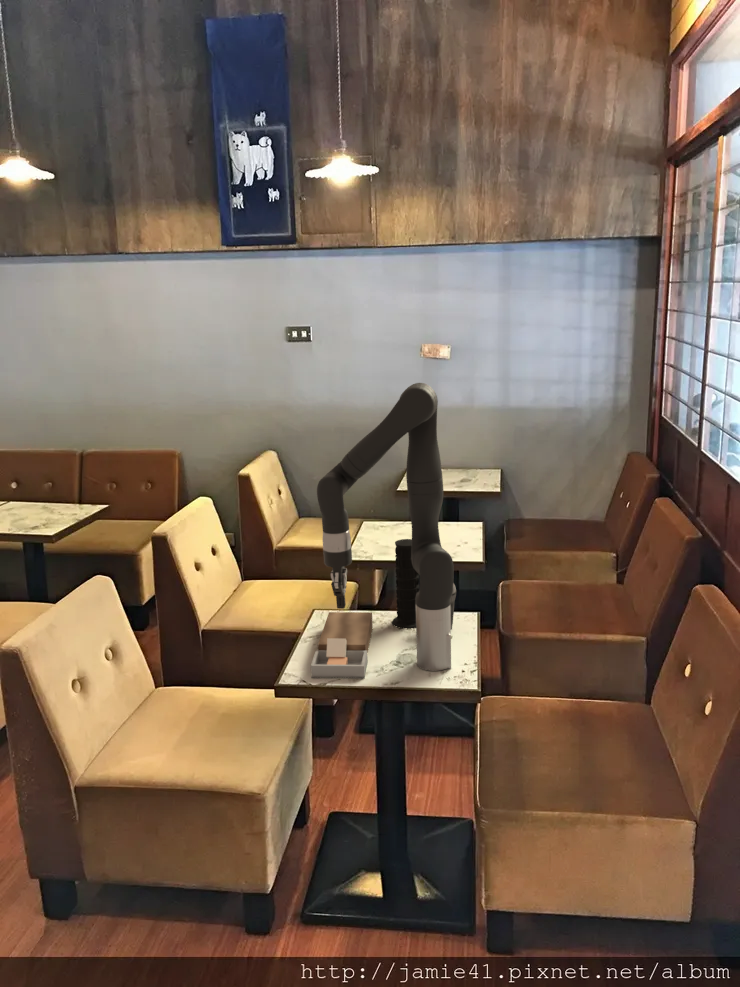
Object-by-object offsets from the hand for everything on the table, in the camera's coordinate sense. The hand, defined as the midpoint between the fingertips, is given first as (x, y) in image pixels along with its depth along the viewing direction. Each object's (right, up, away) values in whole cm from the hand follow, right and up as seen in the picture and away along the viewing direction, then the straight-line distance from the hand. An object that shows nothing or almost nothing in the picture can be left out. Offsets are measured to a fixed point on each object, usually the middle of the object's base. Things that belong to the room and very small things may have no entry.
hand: (341, 607), depth 221 cm
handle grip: (+19, -9, +27) cm, 35 cm away
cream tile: (-1, -12, +1) cm, 12 cm away
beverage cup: (+30, -9, +22) cm, 38 cm away
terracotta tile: (-1, -14, -5) cm, 14 cm away
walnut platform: (+1, -12, +13) cm, 18 cm away
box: (0, -16, -3) cm, 17 cm away
